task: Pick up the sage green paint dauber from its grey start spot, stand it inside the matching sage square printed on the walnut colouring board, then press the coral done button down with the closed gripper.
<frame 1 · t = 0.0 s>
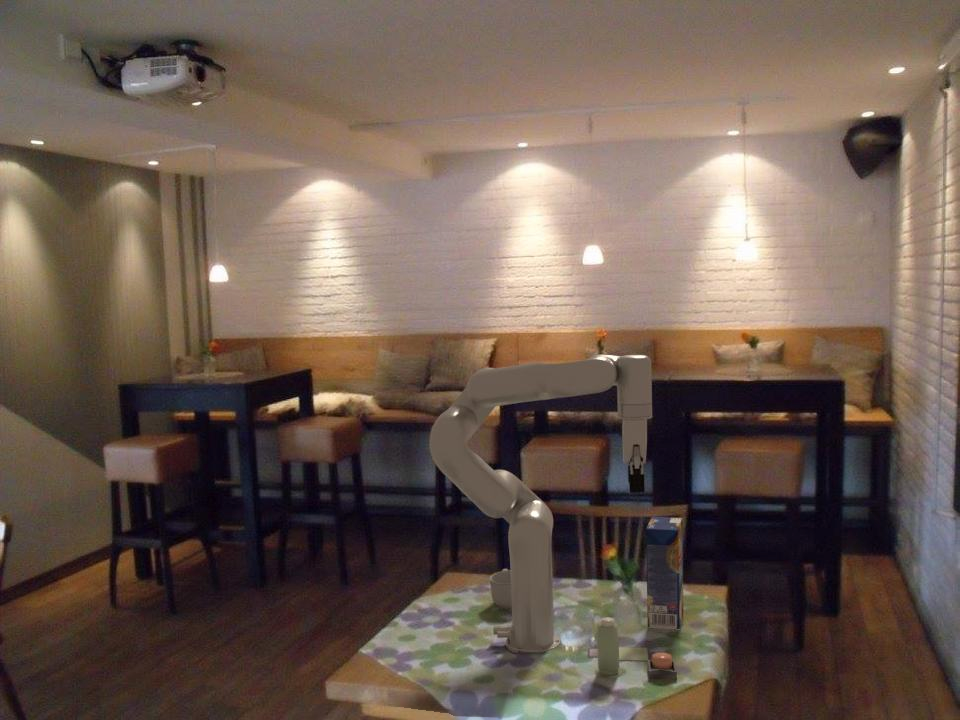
hand: (636, 487, 203), 37 cm above the table, tool pointing down, fingers open, 9 cm apart
colouring board: (627, 667, 195), on the table
juice carton: (666, 620, 222), on the table
teacup: (511, 604, 238), on the table
dauber: (608, 672, 191), point 1 cm above the table, touching colouring board
done button: (662, 661, 189), point 4 cm above the table, slide at 0.0 cm
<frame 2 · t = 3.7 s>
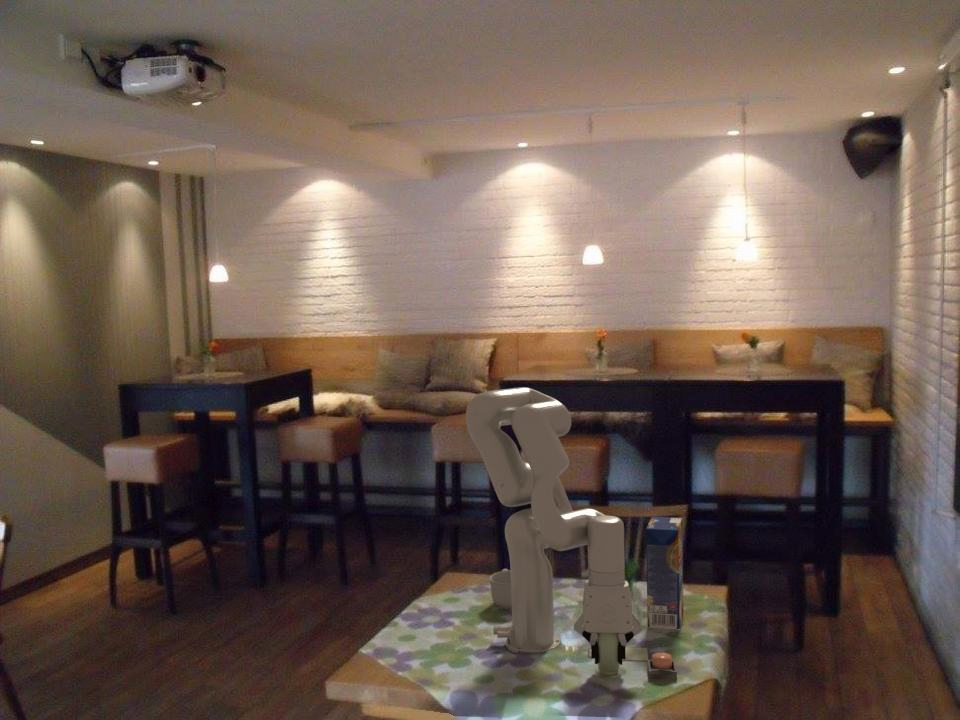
hand: (608, 661, 190), 3 cm above the table, tool pointing down, fingers closed on dauber, 4 cm apart
dauber: (608, 672, 191), point 1 cm above the table, touching colouring board, gripper
everything else where it was.
when the fingers open (4 cm above the table, at t = 8.7 s): dauber stays where it is, resting on colouring board.
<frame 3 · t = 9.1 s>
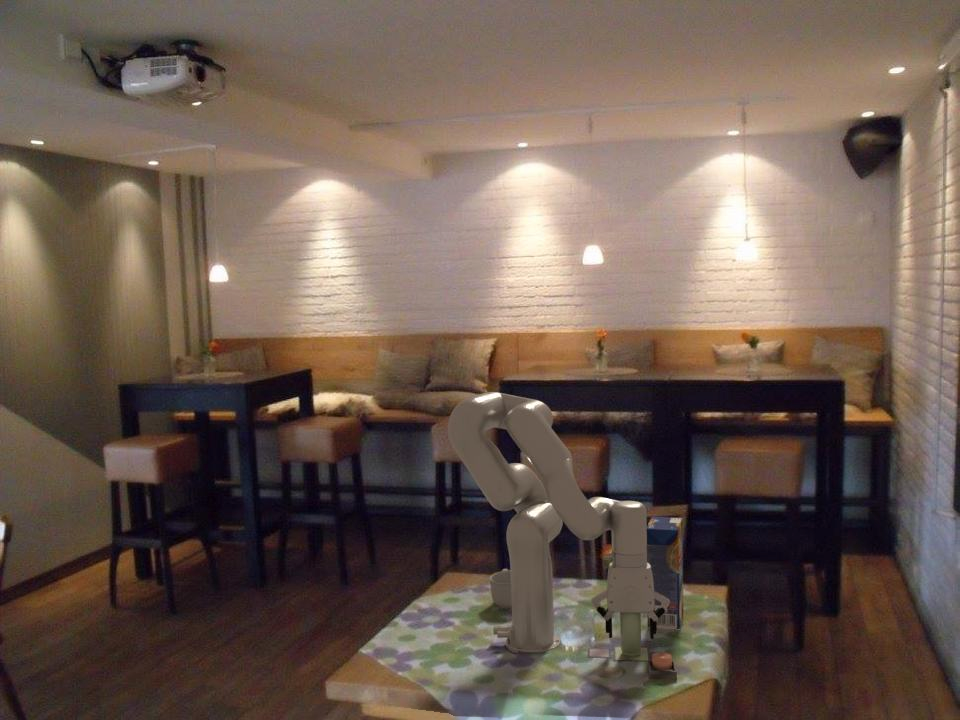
hand: (631, 636, 200), 5 cm above the table, tool pointing down, fingers open, 8 cm apart
dauber: (631, 653, 200), point 1 cm above the table, touching colouring board
everything else where it was.
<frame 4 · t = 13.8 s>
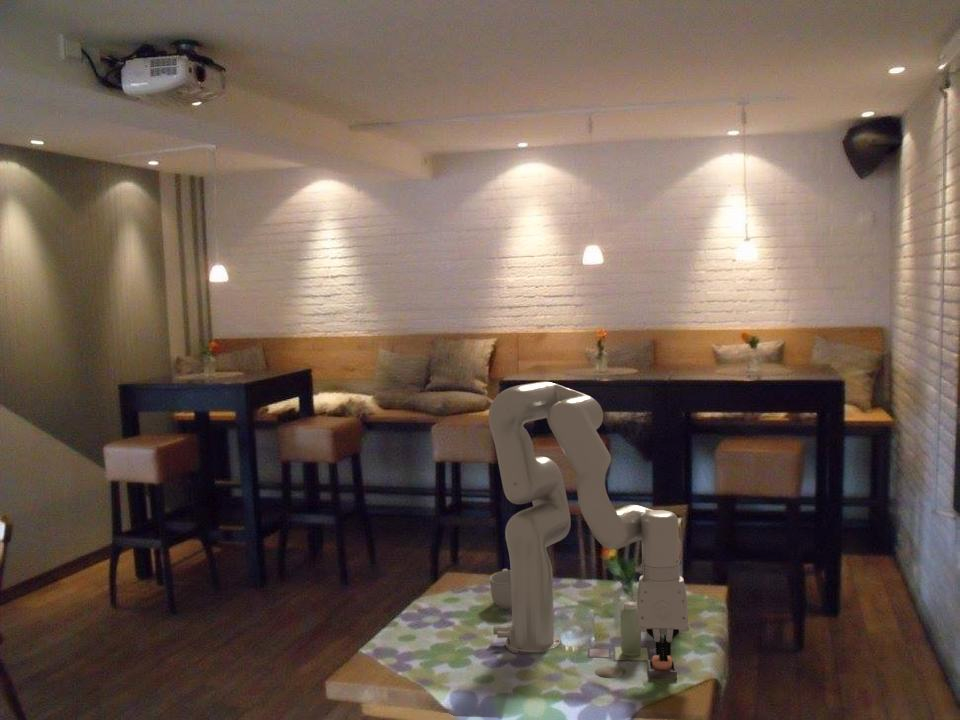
hand: (663, 658, 189), 4 cm above the table, tool pointing down, fingers closed
done button: (662, 662, 189), point 3 cm above the table, slide at 0.4 cm, touching gripper
everything else where it was.
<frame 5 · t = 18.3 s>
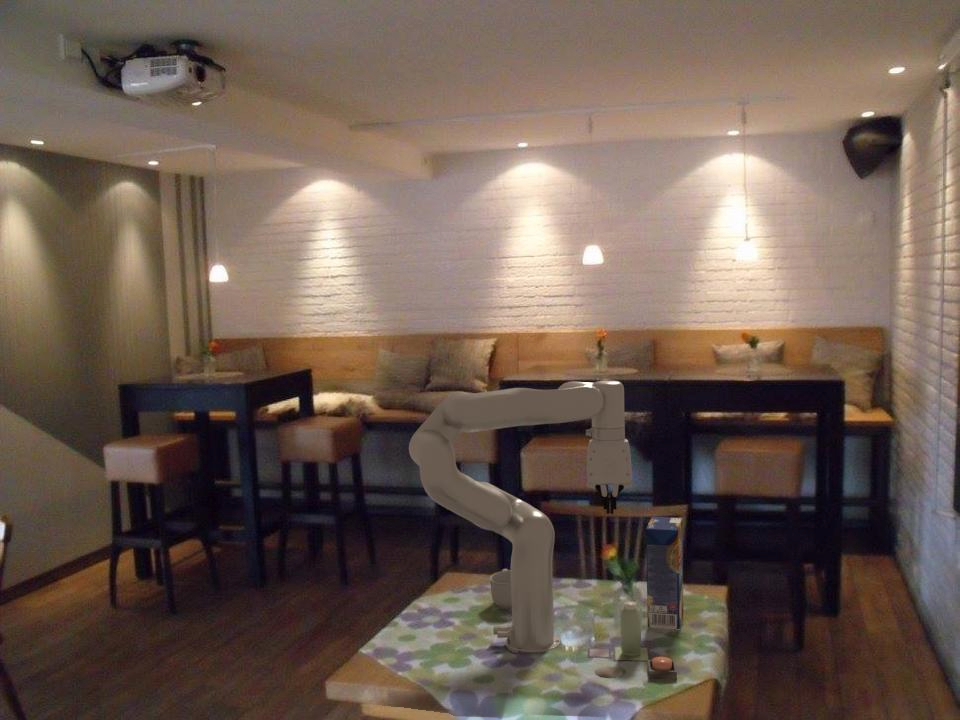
hand: (610, 512, 212), 29 cm above the table, tool pointing down, fingers closed
done button: (662, 665, 189), point 3 cm above the table, slide at 0.9 cm
everything else where it was.
at the end: dauber 0.1 cm from the target spot, point 1.1 cm above the table; dauber tilted 0°; done button slide at 0.9 cm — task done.
